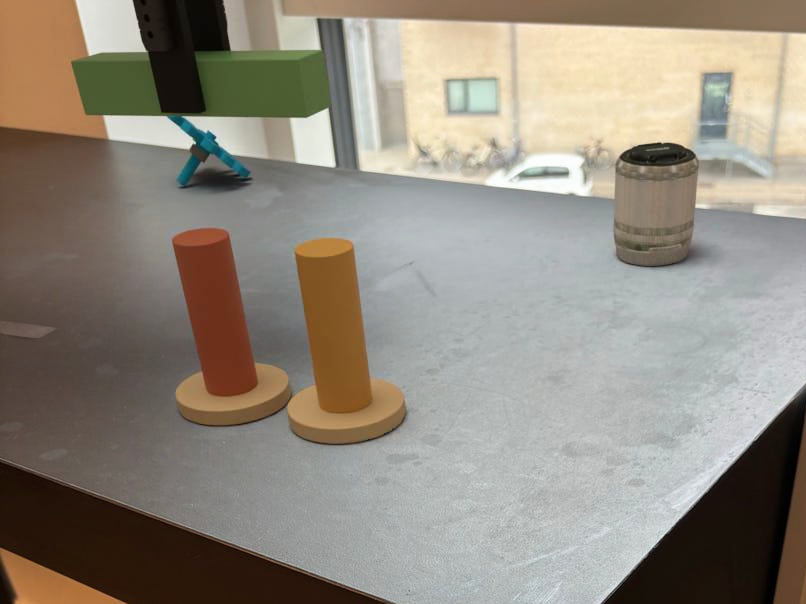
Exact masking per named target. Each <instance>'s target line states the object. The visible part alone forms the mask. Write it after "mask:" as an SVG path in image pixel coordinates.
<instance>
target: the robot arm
mask: <svg viewBox="0 0 806 604" xmlns="http://www.w3.org/2000/svg"><path fill="white" fill-rule="evenodd" d="M132 4H133V8H134V12H135V17H136V21H137V26H138V29H139V35H140V40H141V43H142V45H143V48H144V49H145V52H148V56H149V60H150V64H151V69H152V73H153V78H154V82H155V87H156V91H157V95H158V100H159V104H160V109H161V113H190V114H200V113H202V112H205V111H206V107H205V102H204V97H203V92H202V87H201V83H200V78H199V73H198V68H197V63H196V57H195V52H194V51H232V50H231V49H232V48H231V43H230V37H229V32H228V29H229V27H228V26H229V25H228V19H227V13H226V7H225V2H224V0H132Z"/></svg>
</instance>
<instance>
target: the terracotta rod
mask: <svg viewBox="0 0 806 604" xmlns="http://www.w3.org/2000/svg"><path fill="white" fill-rule="evenodd" d="M230 237H231V236H230V233H229V231H227V230H226V229H223V228H217V227H203V228H202V227H201V228H193V229H190V230H189V229H188V230H185V231H182V232H180V233H178V234H176V235H174V236H173V237H172V238H171V244H172V247H173V248H172V249H173V252H174V257H175V262H176V266H177V269H178V270H177V271H178V273H179V278H180V283H181V287H182V291H183V296H184V299H185V304H186V309H187V313H188V316H189V317H188V318H189V322H190V325H191V326H190V327H191V331H192V335H193V339H194V343H195V348H196V352H197V356H198V361H199V365H200V370H201V371H199V372H196V373H194V374H193V375H190V376H189V377H187V378H185V379H184V380H183V381H182V382H181V383H180V384H178V386H177V387H176V390H175V394H174V397H175V400H176V404H177V408H178V412H179V413H180V415H181V416H182V417H183V418H185V419H186V420H188V421H190V422H193V423H196V424H200V425H206V426H233V425H240V424H246V423H251V422H254V421H258V420H261V419H264V418H266V417H268V416H271V415H273V414H275V413H276V412H278V411H279V410H281V409H283V408H284V407H285V406H286V405H288V403H289V401H290V400H291V398H292V390H291V383H290V378H289V376H288V374H287V373H286V372H285V371H284V370H283V369H281V368H279V367H277V366H274V365H270V364H267V363H258V362H255V359H254V354H253V350H252V344H251V339H250V333H249V329H248V322H247V318H246V313H245V309H244V308H245V307H244V303H243V298H242V291H241V288H240V282H239V277H238V273H237V267H236V263H235V257H234V252H233V246H232V242H231V238H230Z"/></svg>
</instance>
